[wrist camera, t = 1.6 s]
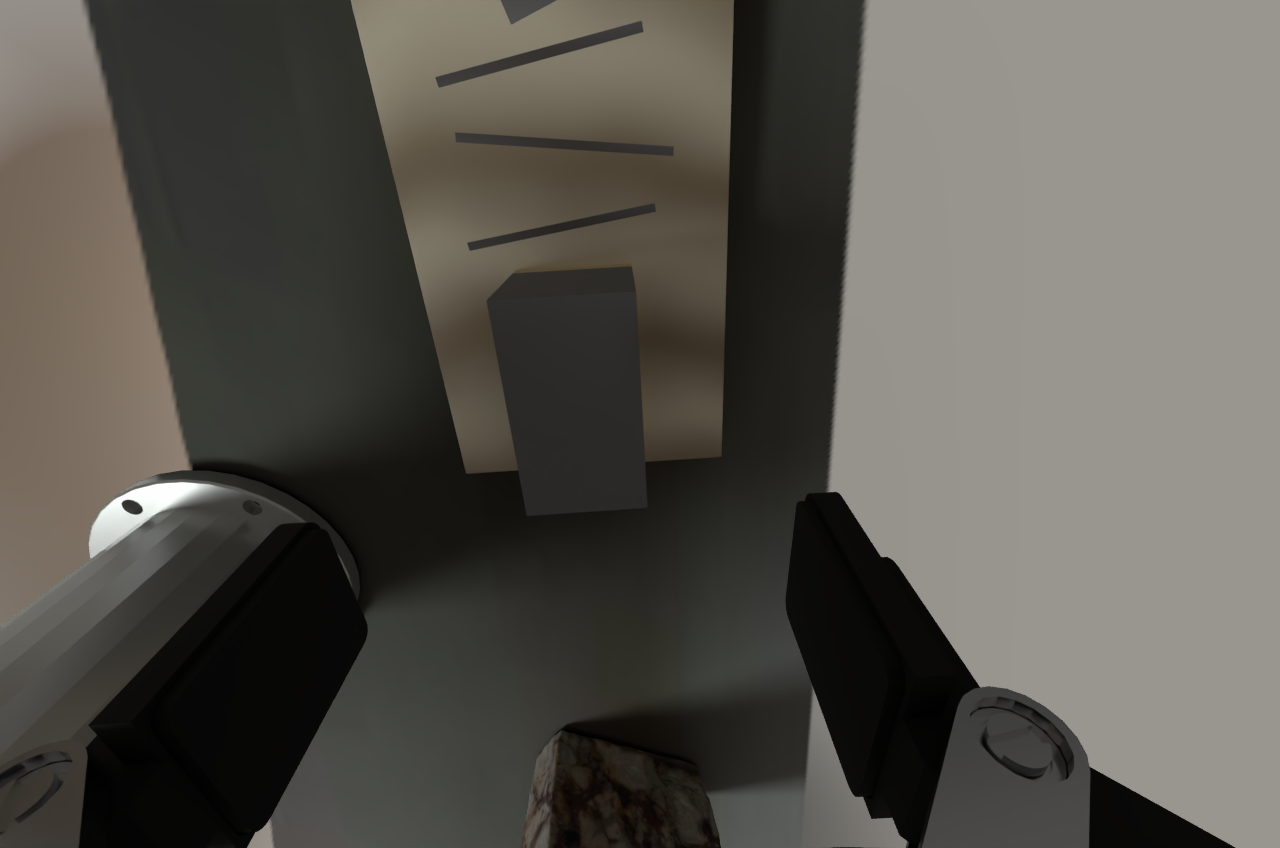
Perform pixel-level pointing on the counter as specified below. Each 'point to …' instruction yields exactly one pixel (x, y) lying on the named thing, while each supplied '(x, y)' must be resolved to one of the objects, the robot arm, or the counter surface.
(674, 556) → the counter surface
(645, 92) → the birch board
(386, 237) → the counter surface
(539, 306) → the sanding sponge
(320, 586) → the robot arm
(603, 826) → the stone block
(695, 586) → the counter surface
